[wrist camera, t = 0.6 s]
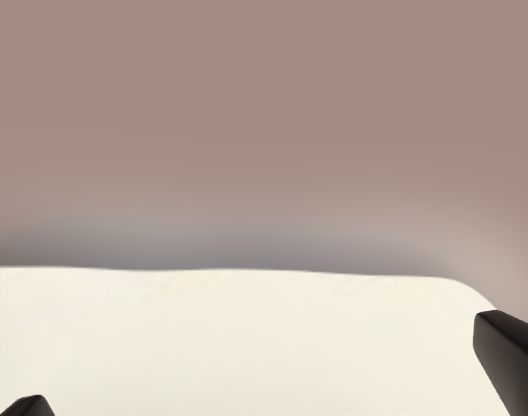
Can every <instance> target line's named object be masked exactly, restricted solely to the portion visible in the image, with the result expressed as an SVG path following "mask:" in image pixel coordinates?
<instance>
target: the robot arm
mask: <svg viewBox="0 0 528 416" xmlns="http://www.w3.org/2000/svg"><path fill="white" fill-rule="evenodd" d="M473 348H474V351H475V354H476V356H477V358H478V359H479V361H480V363H481V365H482V367H483V368H484V370H485V372H486V374H487V375H488V377H489V379H490V381H491V382H492V384H493V386H494V388H495V389H496V391H497V393H498V395H499V397H500V398H501V400H502V402H503V404H504V405H505V407H506V409H507V411H508V412H509V414H510V416H528V323H526V322H524V321H521V320H519V319H517V318H515V317H513V316H511V315H508V314H506V313H504V312H502V311H499V310H491V311H485V312H480V313H478V314H476V316H475V319H474V333H473ZM0 416H55V415H54V413H53V411H52V409H51V408H50V406H49V404H48V402H47V400H46V399H45V397H44V396H42V395H32V396H27V397H22V398H20V399H18V400H16V401H15V402H14V403H13V404H12V405H11V406H9V407H8V408H7V409H6V410H5V411H4V412H2V413H1V414H0Z"/></svg>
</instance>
